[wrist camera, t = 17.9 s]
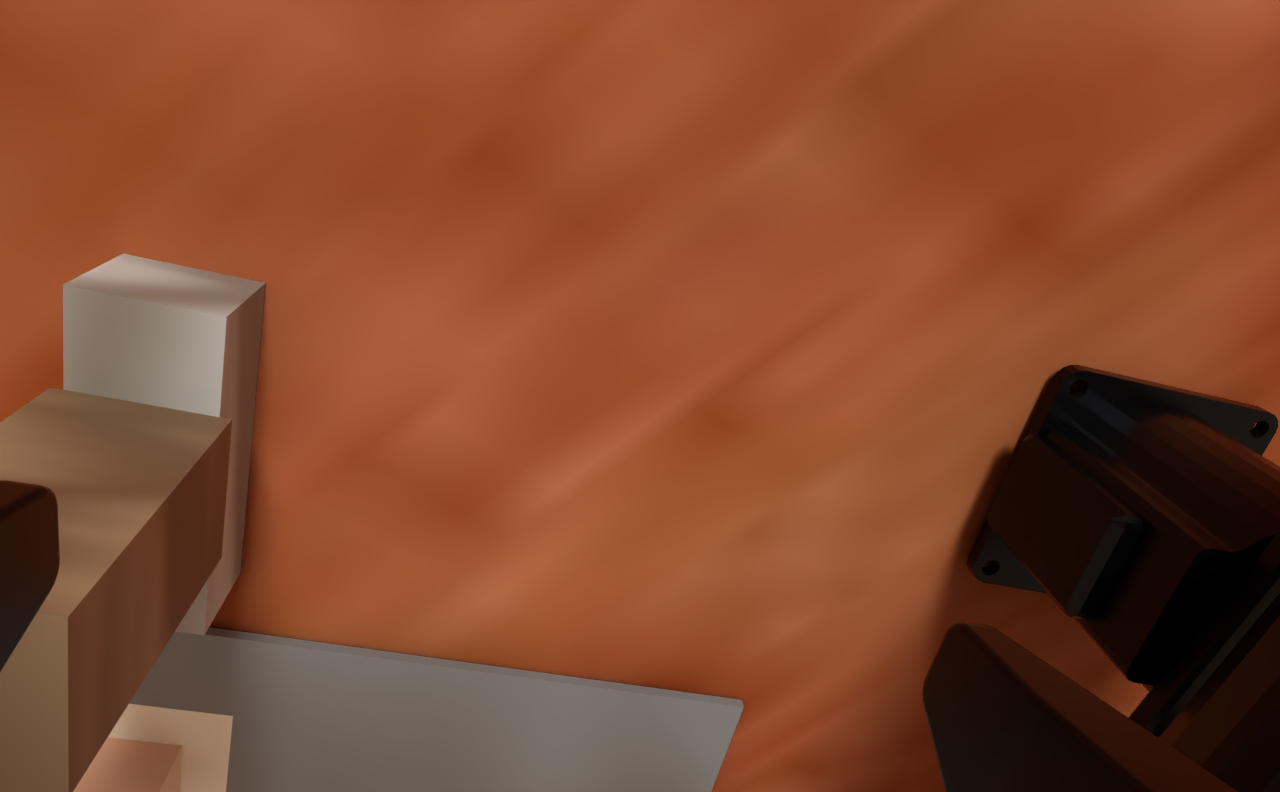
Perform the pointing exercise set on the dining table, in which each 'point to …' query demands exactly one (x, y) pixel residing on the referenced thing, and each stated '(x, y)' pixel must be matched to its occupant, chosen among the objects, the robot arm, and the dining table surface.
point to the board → (413, 723)
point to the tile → (133, 767)
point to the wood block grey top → (129, 498)
